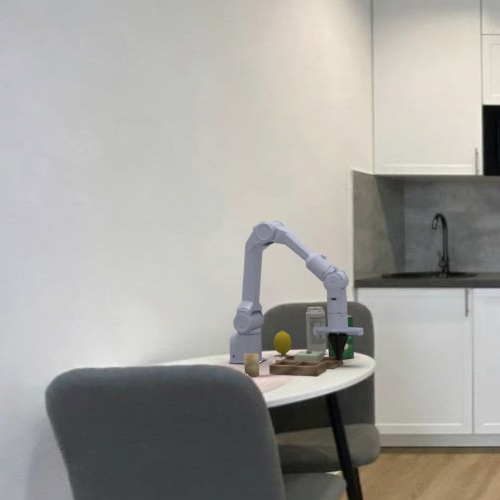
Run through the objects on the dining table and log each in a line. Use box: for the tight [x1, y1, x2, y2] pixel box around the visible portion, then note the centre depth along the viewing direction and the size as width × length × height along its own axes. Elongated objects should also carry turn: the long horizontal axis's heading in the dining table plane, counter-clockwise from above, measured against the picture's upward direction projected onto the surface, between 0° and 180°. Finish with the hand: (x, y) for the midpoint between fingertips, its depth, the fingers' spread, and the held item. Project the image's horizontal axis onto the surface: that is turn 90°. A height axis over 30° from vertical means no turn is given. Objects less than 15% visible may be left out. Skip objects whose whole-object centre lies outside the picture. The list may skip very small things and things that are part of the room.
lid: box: [293, 349, 326, 362], centre depth 213 cm, size 7×7×3 cm
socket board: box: [268, 359, 327, 377], centre depth 203 cm, size 14×8×2 cm, turn 66°
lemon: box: [273, 330, 292, 356], centre depth 230 cm, size 6×6×8 cm
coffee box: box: [327, 315, 355, 360], centre depth 220 cm, size 8×3×13 cm, turn 118°
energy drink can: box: [305, 306, 327, 354], centre depth 230 cm, size 6×6×15 cm
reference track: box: [274, 354, 344, 370], centre depth 213 cm, size 18×9×2 cm, turn 66°
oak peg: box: [243, 353, 260, 378], centre depth 201 cm, size 4×4×6 cm
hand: (339, 359), depth 209 cm, fingers closed
